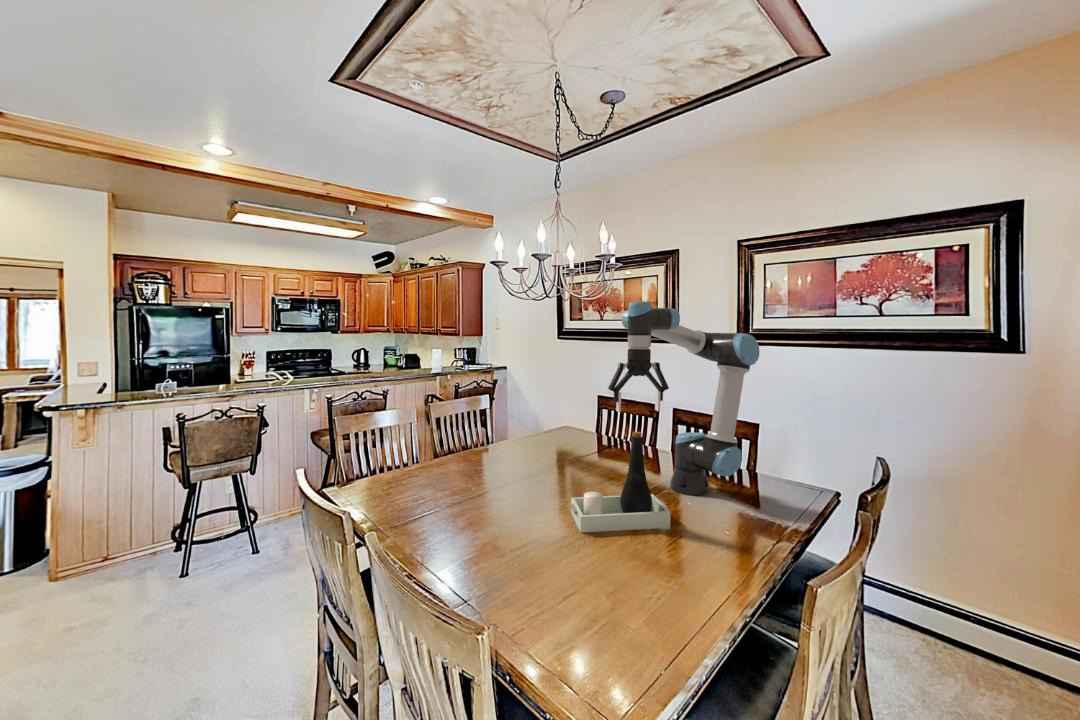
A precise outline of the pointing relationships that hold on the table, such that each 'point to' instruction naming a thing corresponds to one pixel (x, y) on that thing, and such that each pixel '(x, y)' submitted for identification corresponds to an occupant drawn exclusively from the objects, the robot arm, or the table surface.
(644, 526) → the tote
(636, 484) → the bottle
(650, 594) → the table surface
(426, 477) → the table surface
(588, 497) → the cream capsule cylinder
